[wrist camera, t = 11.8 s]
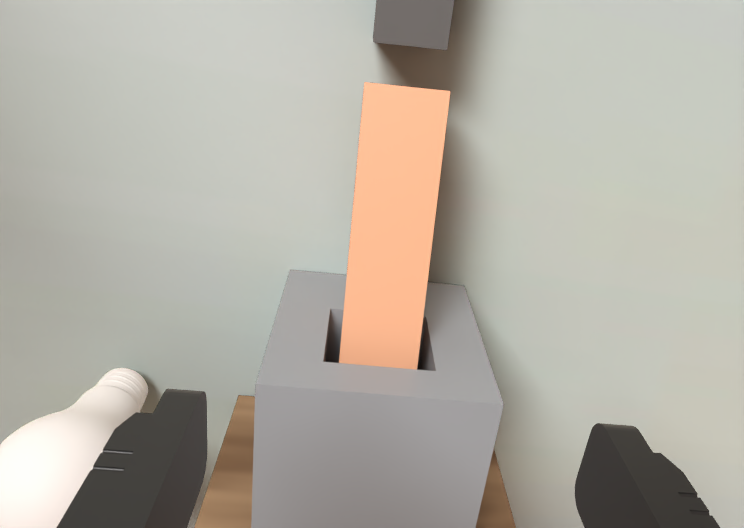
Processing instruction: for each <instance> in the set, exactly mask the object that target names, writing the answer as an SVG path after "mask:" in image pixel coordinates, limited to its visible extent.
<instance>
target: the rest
mask: <svg viewBox="0 0 744 528" xmlns="http://www.w3.org/2000/svg"><path fill="white" fill-rule="evenodd" d="M453 6H454V0H377V1H376V12H375V22H374V33H373V42H375V43H385V44H394V45H403V46H413V47H422V48H431V49H440V50H447V48H448V41H449V34H450V27H451V20H452V13H453Z"/></svg>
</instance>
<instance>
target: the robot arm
mask: <svg viewBox="0 0 744 528" xmlns="http://www.w3.org/2000/svg"><path fill="white" fill-rule="evenodd" d="M206 461H207V401H206V394H205V392H203V391H190V390H177V389H167V390H166V391H165V392H164V394H163V395H162V397H161V399H160V401H159V403H158V405H157V407H156V409H155V411H154V413H153V414H151V413H138V412H136V413H134V414H133V415H132V416H131V417H129V418H128V419H127V420H125V421H124V422H123V423H122V424H120V425H119V426H118V427H117V428H115V429H114V431H113V433H112V435H111V436H110V438H109V440H108V441H107V443H106V445H105V446H104V448H103V452H102V453H100V455H99V457H98V458H97V460H96V462H95V463H94V465H93V469H92V470H90V472H89V473H88V475H87V477H86V479H85V480H84V482H83V484H82V485H81V487H80V489H79V490H78V492H77V494H76V495H75V497H74V499H73V500H72V502H71V504H70V506H69V507H68V509H67V511H66V512H65V514H64V516H63V517H62V519H61V521H60V522H59V524H58V526H57V528H187V526H188V523H189V520H190V517H191V514H192V511H193V508H194V506H195V503H196V500H197V497H198V494H199V491H200V488H201V485H202V482H203V478H204V474H205V468H206ZM575 500H576V506H577V510H578V512H579V515H580V517H581V520H582V522H583V525H584V527H585V528H720V527H719V525H718V524H717V522H716V521H715V519H714V518H713V516H710V515H709V510H708V509H707V507H706V506H705V504H704V503H703V501H702V500H701V498H698V497H697V492H696V491H695V489H694V488H693V486H692V485H691V483H690V482H689V480H688V479H687V477H686V476H685V474H684V473H683V472H682V471H681V470H680V469H679V468H677V467H676V466H675V465H674V464H673V463H672V462H670V461H669V460H668V459H667V458H666V457H665V456H663V455H662V454H661V453H653V452H652V450H651V449H650V447H649V446H648V444H647V443H646V441H645V439H644V438H643V436H642V435H641V433H640V432H639V430H638V429H637V428H636V427H634V426H626V425H613V424H600V423H598V424H596V425H594V427H593V428H592V430H591V433H590V436H589V439H588V443H587V446H586V449H585V452H584V456H583V459H582V462H581V465H580V469H579V472H578V475H577V479H576V484H575Z"/></svg>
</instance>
